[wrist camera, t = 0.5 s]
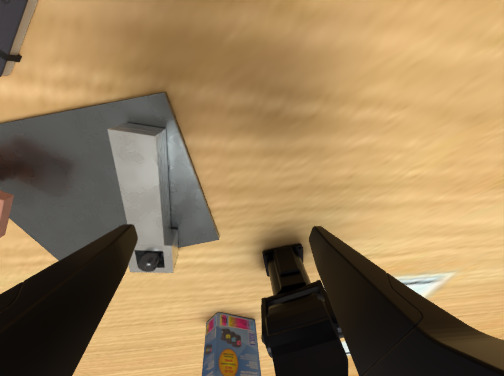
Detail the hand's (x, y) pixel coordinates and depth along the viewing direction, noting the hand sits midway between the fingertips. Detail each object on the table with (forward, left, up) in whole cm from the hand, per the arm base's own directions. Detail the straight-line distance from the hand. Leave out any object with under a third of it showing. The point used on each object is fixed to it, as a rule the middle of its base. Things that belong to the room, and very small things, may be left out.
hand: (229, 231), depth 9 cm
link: (-4, +10, -12) cm, 16 cm away
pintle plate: (-3, +15, -12) cm, 20 cm away
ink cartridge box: (-38, +8, -13) cm, 41 cm away
